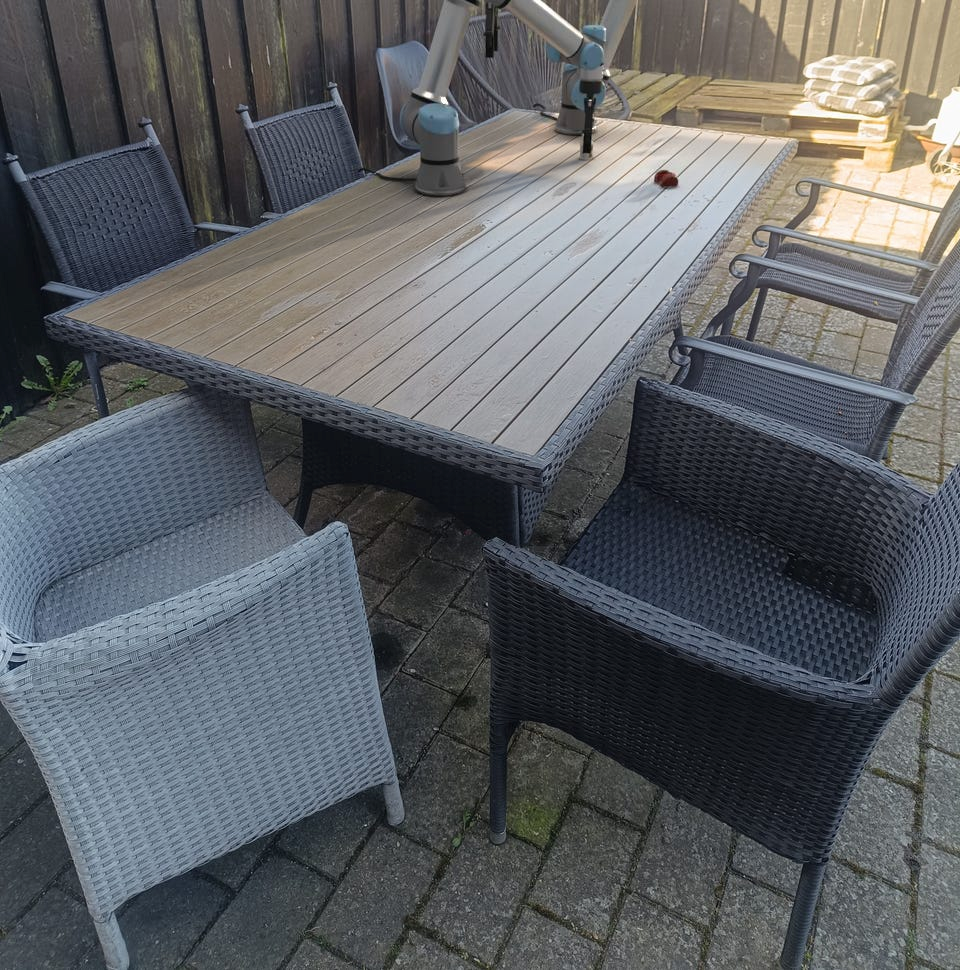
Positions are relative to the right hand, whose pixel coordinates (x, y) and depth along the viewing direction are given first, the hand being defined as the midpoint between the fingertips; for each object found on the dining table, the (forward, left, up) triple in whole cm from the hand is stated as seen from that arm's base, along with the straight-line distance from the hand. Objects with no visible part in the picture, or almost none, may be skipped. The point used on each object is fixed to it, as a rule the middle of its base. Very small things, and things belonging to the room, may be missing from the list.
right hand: (491, 54), depth 289 cm
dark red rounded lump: (+53, +54, -29) cm, 81 cm away
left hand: (+23, +32, -25) cm, 47 cm away
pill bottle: (+23, +32, -29) cm, 49 cm away
